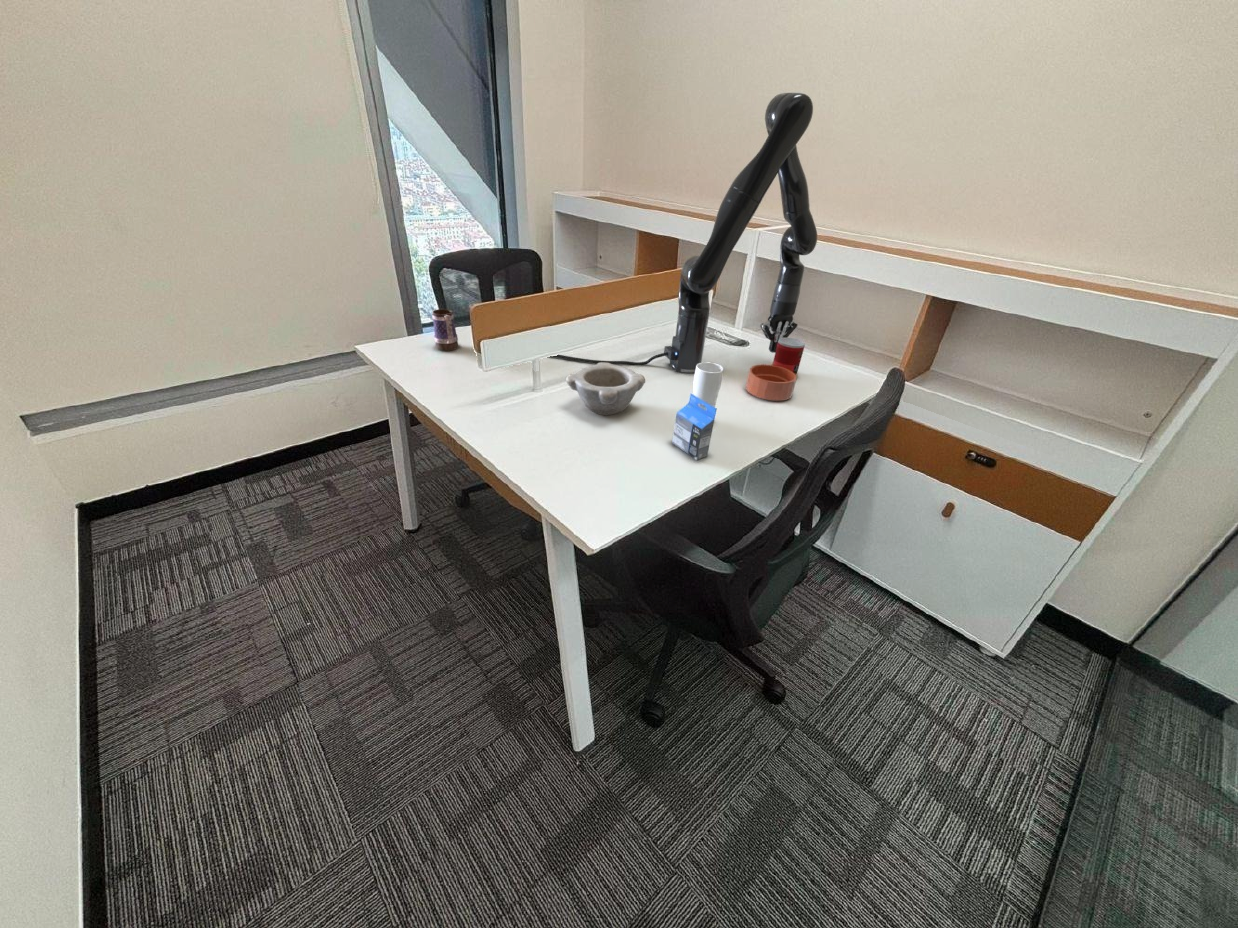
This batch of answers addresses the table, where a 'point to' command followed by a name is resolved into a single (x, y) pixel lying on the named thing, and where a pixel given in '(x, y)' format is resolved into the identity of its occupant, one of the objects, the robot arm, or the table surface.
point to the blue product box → (694, 427)
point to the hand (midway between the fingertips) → (772, 351)
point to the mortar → (606, 387)
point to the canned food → (789, 353)
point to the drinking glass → (707, 382)
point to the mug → (444, 330)
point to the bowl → (771, 382)
